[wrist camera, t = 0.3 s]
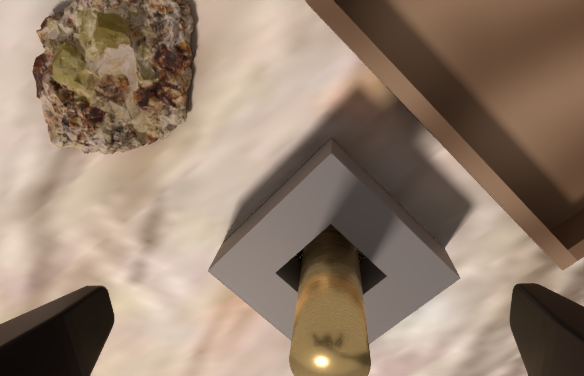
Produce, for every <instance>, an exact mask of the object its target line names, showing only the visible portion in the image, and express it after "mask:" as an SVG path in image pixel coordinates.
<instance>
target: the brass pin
mask: <svg viewBox="0 0 584 376" xmlns="http://www.w3.org/2000/svg"><path fill="white" fill-rule="evenodd" d="M289 362H290V367H291V370H292V372H293V374H294V376H368V374H369V371H370V367H371V359H370V351H369V342H368V334H367V325H366V317H365V308H364V300H363V291H362V283H361V274H360V266H359V257H358V249H357V248H356V247H355V246H354V245H353V244H352V243H351V242H350V241H349V240H348V239H347V238H345V237H344V236H343V235H342V234H341V233H340V232H339V231H338V230H337V229H336V228H335V227H334V226H333V225H331V224H330V225H329V226H328V227H327V228H326V229H324V230H323V231H322V232H321V233H320V234H319V235H318V236H316V237H315V238H314V239H313V240H312V241H311V242H310V243H309V244H307V245H306V246H305V247H304V252H303V260H302V267H301V275H300V282H299V290H298V297H297V305H296V312H295V320H294V327H293V335H292V342H291V350H290V358H289Z"/></svg>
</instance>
